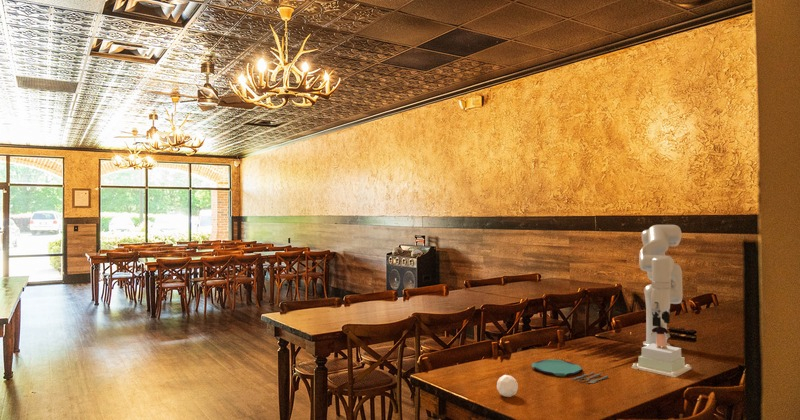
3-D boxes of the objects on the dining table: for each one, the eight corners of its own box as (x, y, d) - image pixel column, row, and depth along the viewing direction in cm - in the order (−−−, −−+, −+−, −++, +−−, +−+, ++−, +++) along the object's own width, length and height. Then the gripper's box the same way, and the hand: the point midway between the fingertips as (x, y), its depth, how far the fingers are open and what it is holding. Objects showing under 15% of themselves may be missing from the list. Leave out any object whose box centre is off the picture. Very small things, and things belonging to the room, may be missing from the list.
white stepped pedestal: (649, 360, 241) (648, 340, 241) (691, 369, 228) (691, 348, 228) (631, 368, 229) (631, 347, 229) (675, 377, 216) (675, 355, 216)
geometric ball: (502, 404, 192) (489, 386, 193) (509, 390, 199) (496, 373, 199) (518, 398, 188) (504, 380, 188) (525, 384, 194) (511, 367, 194)
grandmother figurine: (669, 347, 229) (669, 318, 229) (670, 349, 225) (670, 320, 226) (650, 345, 232) (650, 317, 232) (650, 347, 228) (650, 318, 229)
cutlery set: (552, 361, 240) (552, 356, 240) (612, 379, 216) (612, 373, 216) (523, 369, 228) (523, 364, 228) (583, 389, 204) (583, 383, 204)
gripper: (660, 282, 238) (660, 320, 238) (643, 286, 226) (644, 326, 226) (677, 284, 232) (677, 322, 232) (662, 288, 220) (662, 329, 221)
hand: (661, 324), depth 229 cm, fingers open, 9 cm apart
